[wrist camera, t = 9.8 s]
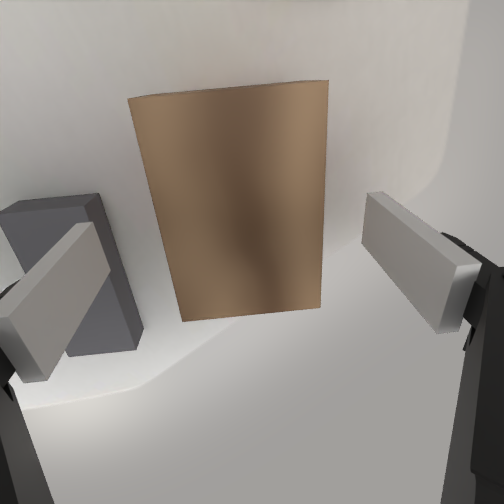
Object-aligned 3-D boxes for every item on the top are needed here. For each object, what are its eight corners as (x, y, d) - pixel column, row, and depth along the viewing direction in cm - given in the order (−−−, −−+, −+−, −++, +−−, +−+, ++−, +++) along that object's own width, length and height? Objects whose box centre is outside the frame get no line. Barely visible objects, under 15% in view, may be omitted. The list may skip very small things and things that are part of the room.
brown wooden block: (191, 278, 24) (182, 321, 20) (152, 94, 18) (127, 98, 14) (304, 267, 25) (320, 307, 20) (305, 80, 18) (328, 80, 14)
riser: (81, 334, 33) (68, 356, 30) (18, 200, 26) (-6, 214, 23) (143, 328, 33) (136, 350, 30) (98, 193, 26) (83, 205, 23)
